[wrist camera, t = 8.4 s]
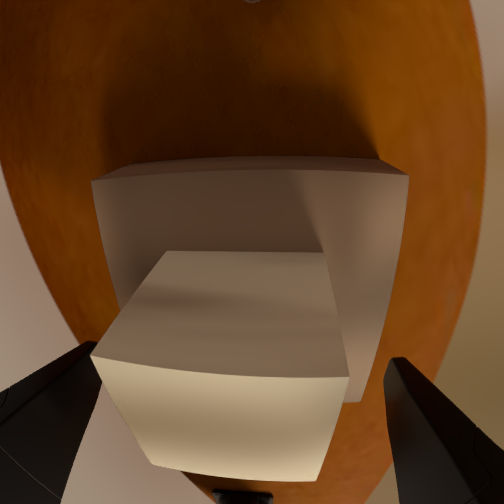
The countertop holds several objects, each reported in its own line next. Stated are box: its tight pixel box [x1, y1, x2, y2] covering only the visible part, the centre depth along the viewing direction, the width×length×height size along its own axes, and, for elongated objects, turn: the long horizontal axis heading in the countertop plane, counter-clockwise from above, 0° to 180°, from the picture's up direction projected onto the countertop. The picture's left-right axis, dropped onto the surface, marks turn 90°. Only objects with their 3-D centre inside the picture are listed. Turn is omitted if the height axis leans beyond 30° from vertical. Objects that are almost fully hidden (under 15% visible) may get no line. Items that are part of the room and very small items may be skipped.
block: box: [90, 251, 350, 481], centre depth 8 cm, size 5×5×5 cm
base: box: [91, 156, 409, 403], centre depth 12 cm, size 10×10×3 cm
